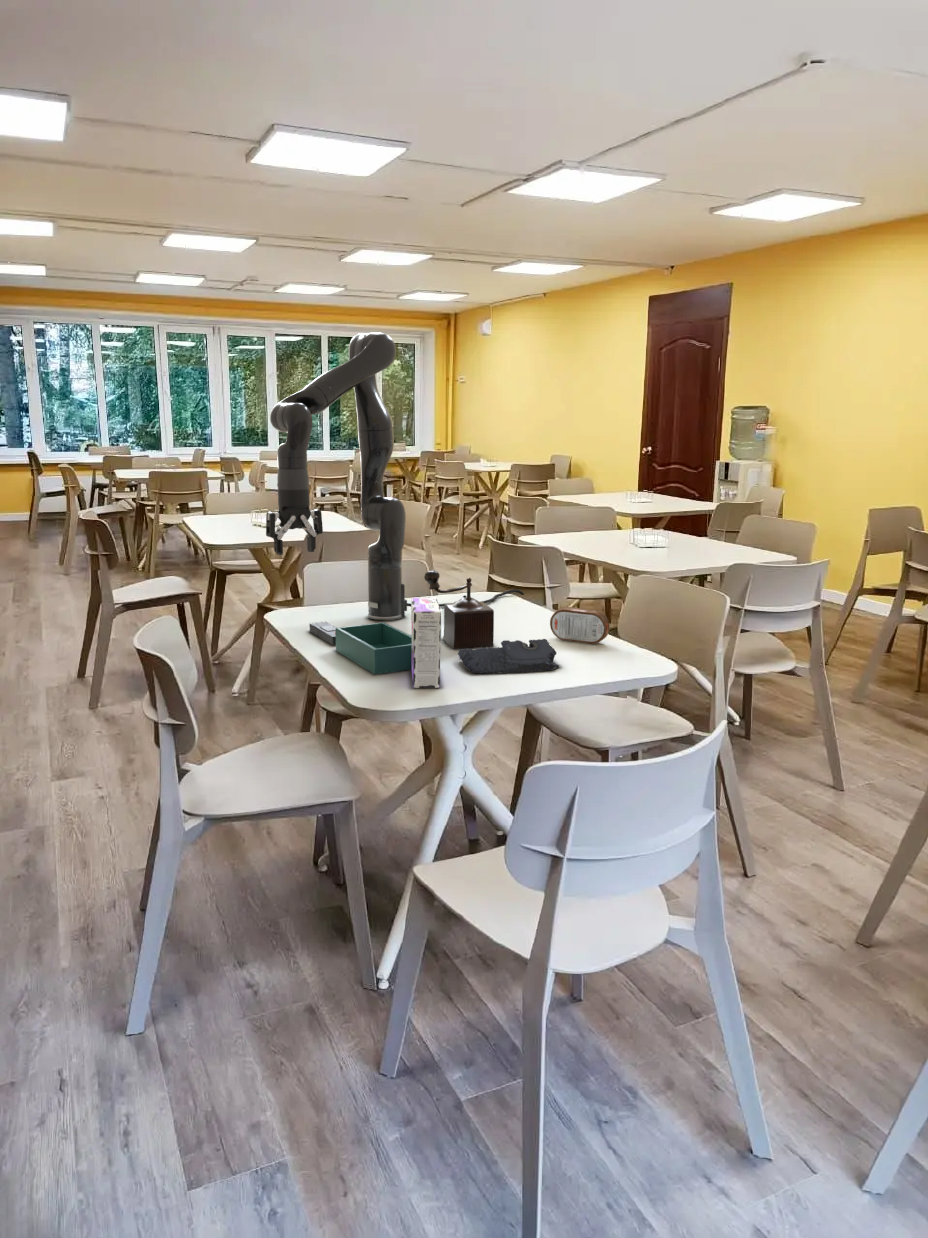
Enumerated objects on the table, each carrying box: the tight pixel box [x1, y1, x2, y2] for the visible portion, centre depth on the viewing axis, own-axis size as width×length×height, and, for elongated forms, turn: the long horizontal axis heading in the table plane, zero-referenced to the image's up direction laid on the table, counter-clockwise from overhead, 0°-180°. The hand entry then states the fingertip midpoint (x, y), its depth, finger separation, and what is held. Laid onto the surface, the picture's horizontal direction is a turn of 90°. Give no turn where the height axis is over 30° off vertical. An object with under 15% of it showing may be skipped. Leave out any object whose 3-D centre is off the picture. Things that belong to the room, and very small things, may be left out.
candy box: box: [410, 597, 442, 689], centre depth 188 cm, size 14×6×16 cm, turn 5°
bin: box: [335, 621, 412, 675], centre depth 204 cm, size 13×23×6 cm, turn 30°
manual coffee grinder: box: [423, 569, 495, 650], centre depth 217 cm, size 16×11×18 cm
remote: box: [309, 621, 337, 646], centre depth 223 cm, size 4×16×2 cm, turn 30°
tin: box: [549, 606, 611, 645], centre depth 222 cm, size 15×3×8 cm, turn 65°
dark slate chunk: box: [457, 638, 560, 675], centre depth 201 cm, size 15×22×5 cm
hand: (295, 553), depth 219 cm, fingers open, 8 cm apart
